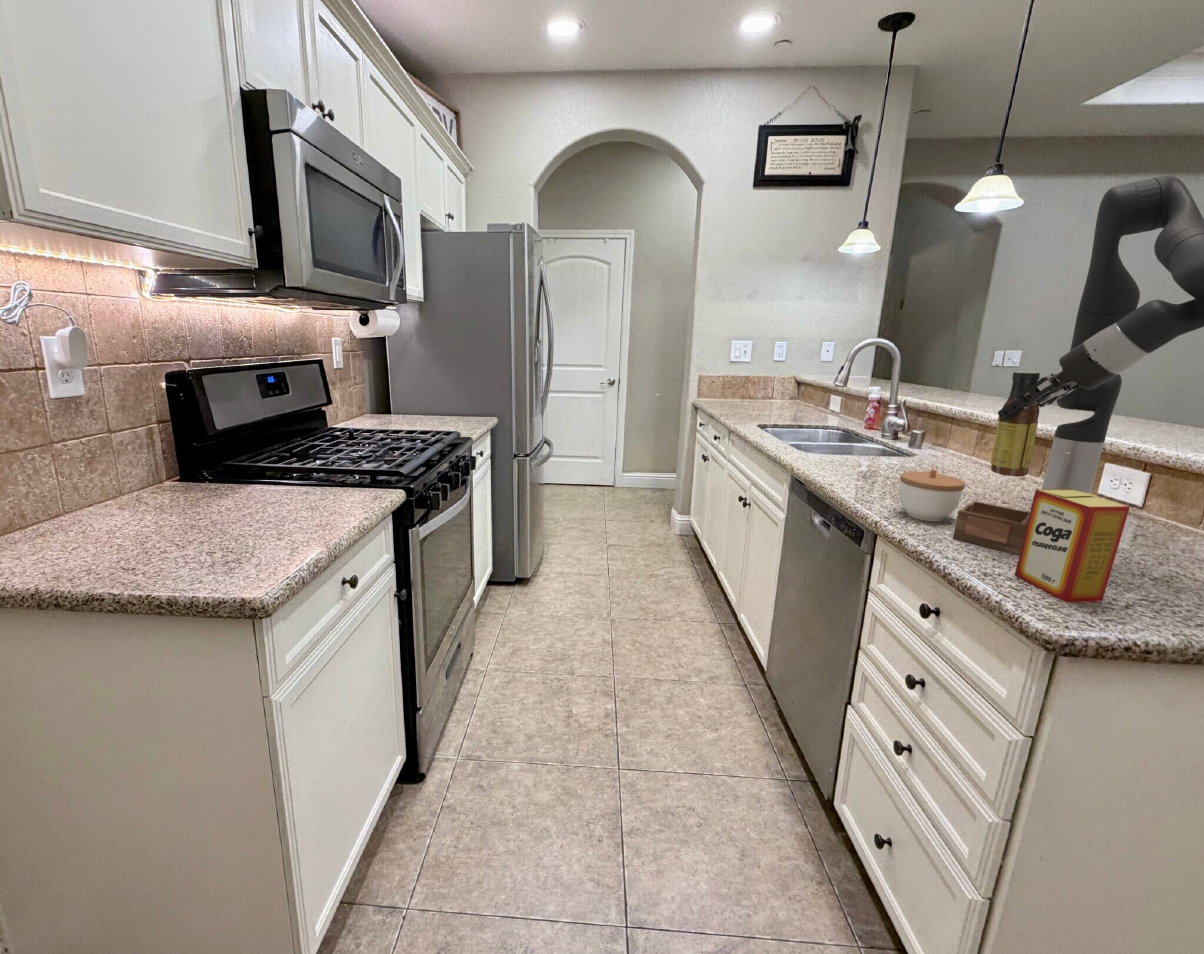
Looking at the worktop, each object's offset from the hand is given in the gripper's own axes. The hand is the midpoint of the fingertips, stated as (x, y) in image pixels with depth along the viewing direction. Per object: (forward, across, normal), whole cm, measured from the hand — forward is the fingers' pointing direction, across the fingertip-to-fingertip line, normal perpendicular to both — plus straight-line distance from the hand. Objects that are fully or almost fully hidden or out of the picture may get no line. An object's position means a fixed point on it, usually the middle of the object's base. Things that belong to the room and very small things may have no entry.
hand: (1009, 415), depth 106 cm
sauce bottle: (+7, 0, +9) cm, 12 cm away
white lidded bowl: (+28, -3, +9) cm, 29 cm away
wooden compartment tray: (+13, -1, +22) cm, 26 cm away
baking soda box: (+6, +16, +30) cm, 35 cm away
